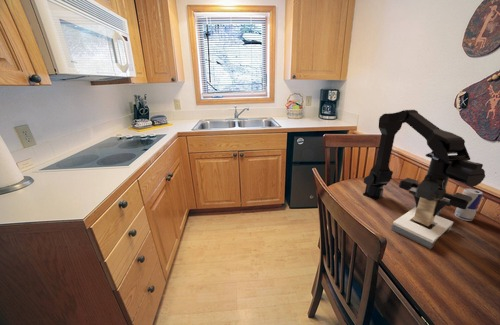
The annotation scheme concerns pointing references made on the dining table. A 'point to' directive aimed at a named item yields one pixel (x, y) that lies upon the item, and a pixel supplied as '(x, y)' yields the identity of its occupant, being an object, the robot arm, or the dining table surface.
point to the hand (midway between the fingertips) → (425, 212)
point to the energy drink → (471, 210)
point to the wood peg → (426, 211)
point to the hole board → (421, 229)
